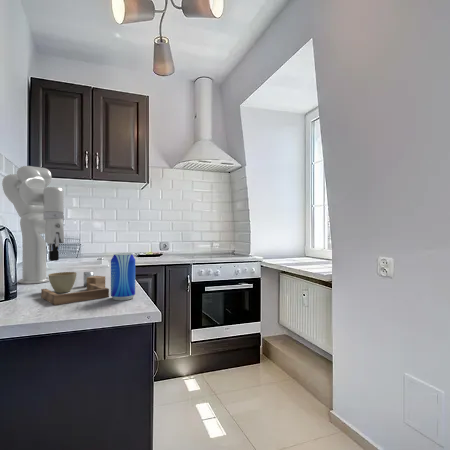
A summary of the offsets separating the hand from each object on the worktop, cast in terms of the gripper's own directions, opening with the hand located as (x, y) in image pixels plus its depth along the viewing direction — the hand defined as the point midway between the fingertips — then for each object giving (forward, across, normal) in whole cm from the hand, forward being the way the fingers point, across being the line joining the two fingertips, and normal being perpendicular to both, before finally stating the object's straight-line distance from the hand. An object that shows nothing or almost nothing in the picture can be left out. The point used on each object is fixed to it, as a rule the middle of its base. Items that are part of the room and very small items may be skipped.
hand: (53, 260), depth 138 cm
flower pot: (+12, -11, 0) cm, 16 cm away
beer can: (+13, -38, -12) cm, 42 cm away
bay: (+12, -24, 0) cm, 27 cm away
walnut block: (+12, -14, -12) cm, 22 cm away
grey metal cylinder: (+12, -6, -12) cm, 18 cm away
